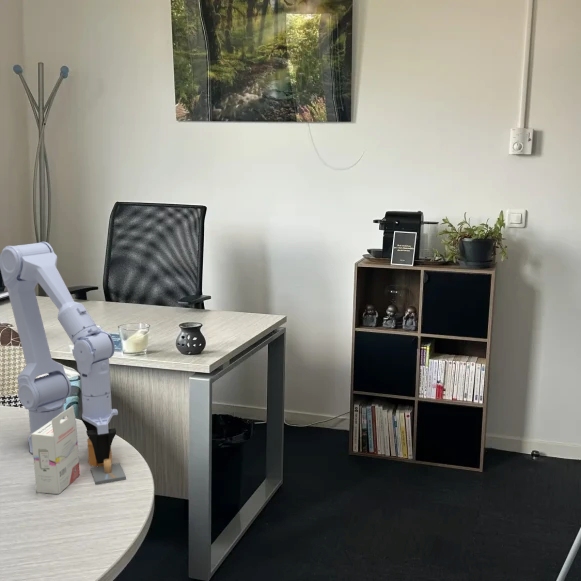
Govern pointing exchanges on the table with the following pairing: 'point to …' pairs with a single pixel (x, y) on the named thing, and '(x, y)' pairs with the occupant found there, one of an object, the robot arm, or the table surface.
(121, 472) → the plate
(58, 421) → the ink cartridge box
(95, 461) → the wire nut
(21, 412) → the table surface
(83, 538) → the table surface
